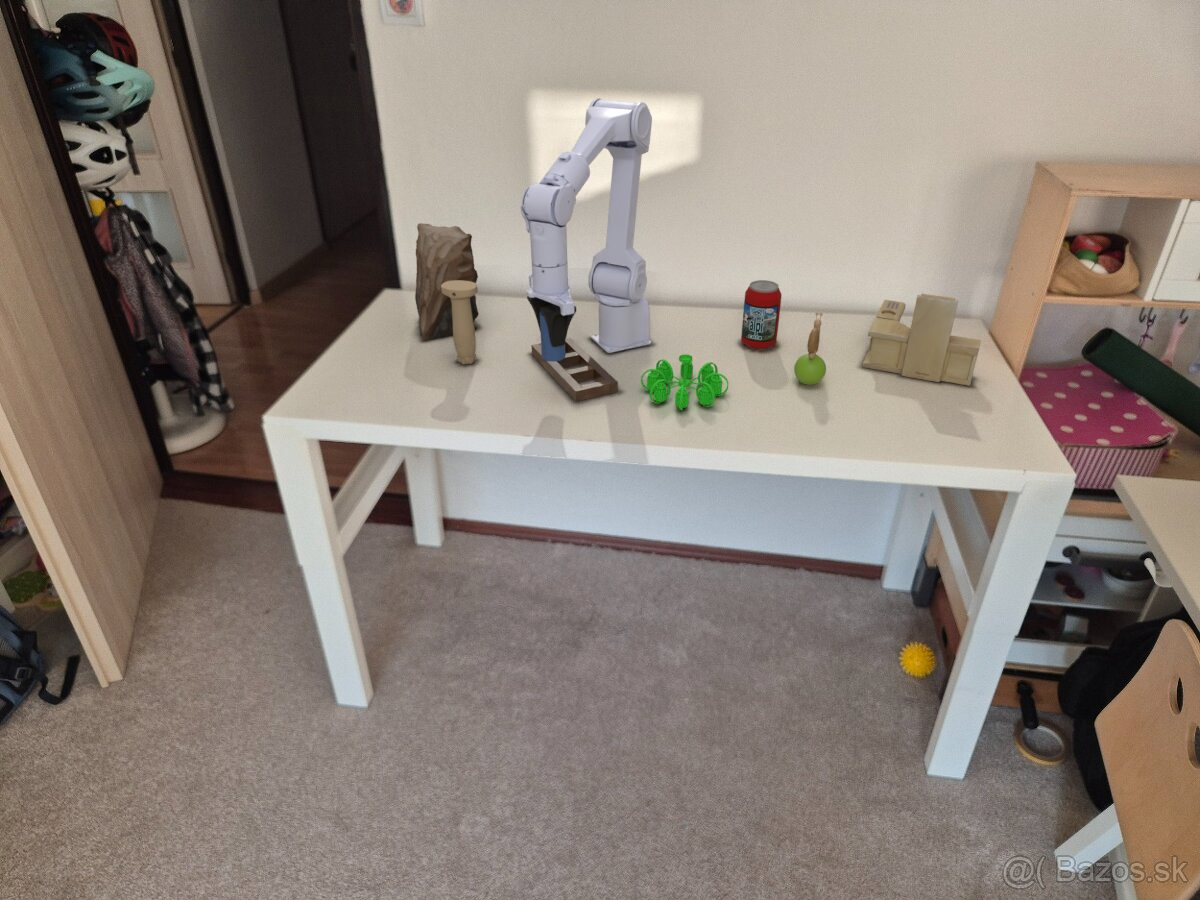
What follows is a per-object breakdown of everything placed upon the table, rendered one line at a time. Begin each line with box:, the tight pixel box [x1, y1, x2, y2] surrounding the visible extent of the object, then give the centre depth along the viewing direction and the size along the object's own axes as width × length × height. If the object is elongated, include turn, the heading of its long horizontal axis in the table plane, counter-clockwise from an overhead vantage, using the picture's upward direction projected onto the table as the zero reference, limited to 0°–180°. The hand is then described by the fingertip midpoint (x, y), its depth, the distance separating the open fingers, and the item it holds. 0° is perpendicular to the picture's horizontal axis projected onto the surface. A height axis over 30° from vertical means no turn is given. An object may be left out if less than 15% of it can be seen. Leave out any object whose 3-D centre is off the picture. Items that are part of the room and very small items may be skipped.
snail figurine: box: [793, 311, 827, 386], centre depth 145 cm, size 5×6×12 cm
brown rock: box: [414, 222, 480, 342], centre depth 165 cm, size 13×13×20 cm
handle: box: [441, 280, 479, 366], centre depth 153 cm, size 5×6×15 cm
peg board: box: [530, 336, 619, 403], centre depth 152 cm, size 8×21×2 cm, turn 25°
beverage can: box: [740, 279, 782, 351], centre depth 159 cm, size 7×7×12 cm
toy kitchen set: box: [862, 293, 982, 386], centre depth 151 cm, size 18×17×15 cm
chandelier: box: [640, 354, 729, 411], centre depth 143 cm, size 15×15×7 cm
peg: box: [539, 311, 566, 362], centre depth 140 cm, size 4×4×8 cm
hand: (552, 340), depth 140 cm, fingers closed on peg, 4 cm apart
